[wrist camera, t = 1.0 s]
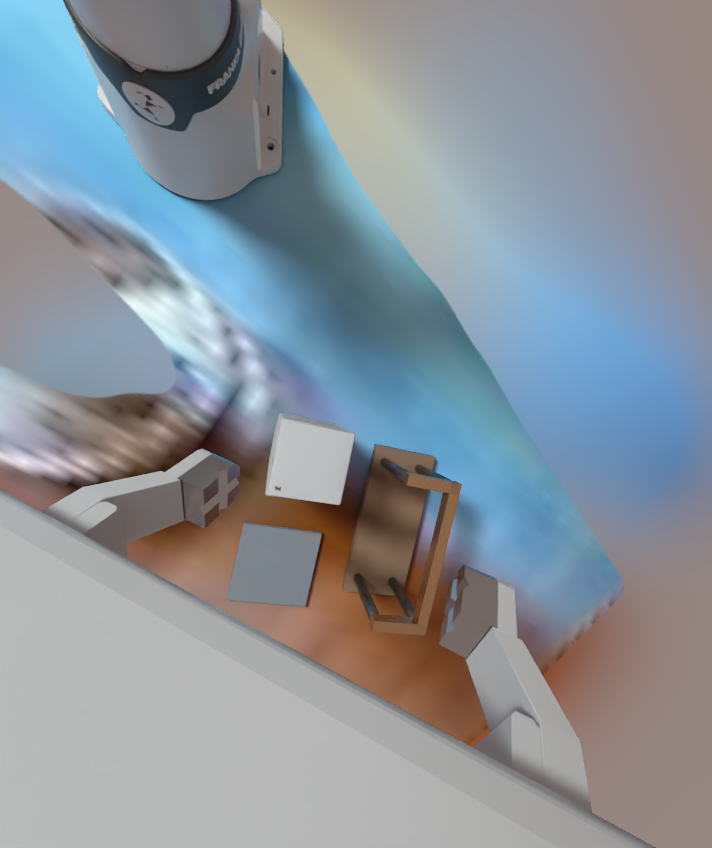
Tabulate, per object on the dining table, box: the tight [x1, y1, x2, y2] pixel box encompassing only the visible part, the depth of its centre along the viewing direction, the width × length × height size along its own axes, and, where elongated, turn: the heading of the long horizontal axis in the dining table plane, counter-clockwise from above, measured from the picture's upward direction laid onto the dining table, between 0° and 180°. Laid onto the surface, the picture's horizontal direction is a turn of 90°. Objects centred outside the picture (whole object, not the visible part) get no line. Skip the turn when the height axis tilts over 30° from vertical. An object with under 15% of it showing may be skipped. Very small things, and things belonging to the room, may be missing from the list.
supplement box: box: [265, 413, 355, 505], centre depth 38 cm, size 7×7×13 cm
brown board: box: [342, 444, 435, 596], centre depth 47 cm, size 20×8×1 cm, turn 167°
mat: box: [227, 522, 322, 607], centre depth 44 cm, size 10×10×1 cm
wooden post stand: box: [353, 458, 462, 636], centre depth 41 cm, size 17×6×10 cm, turn 167°
